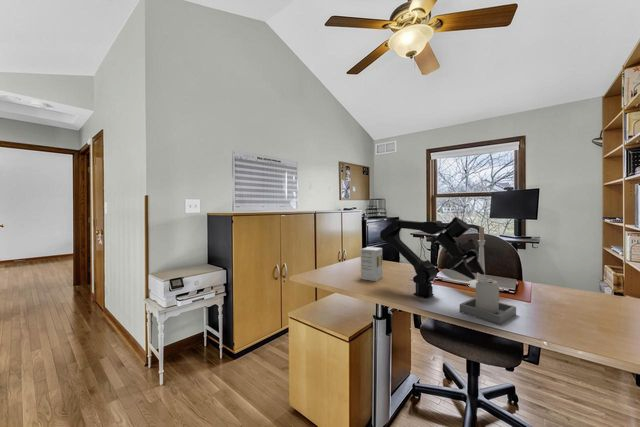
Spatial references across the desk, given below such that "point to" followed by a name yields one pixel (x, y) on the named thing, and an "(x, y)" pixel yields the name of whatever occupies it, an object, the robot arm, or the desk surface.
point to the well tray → (498, 318)
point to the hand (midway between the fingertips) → (479, 276)
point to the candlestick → (481, 258)
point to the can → (487, 295)
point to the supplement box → (371, 263)
